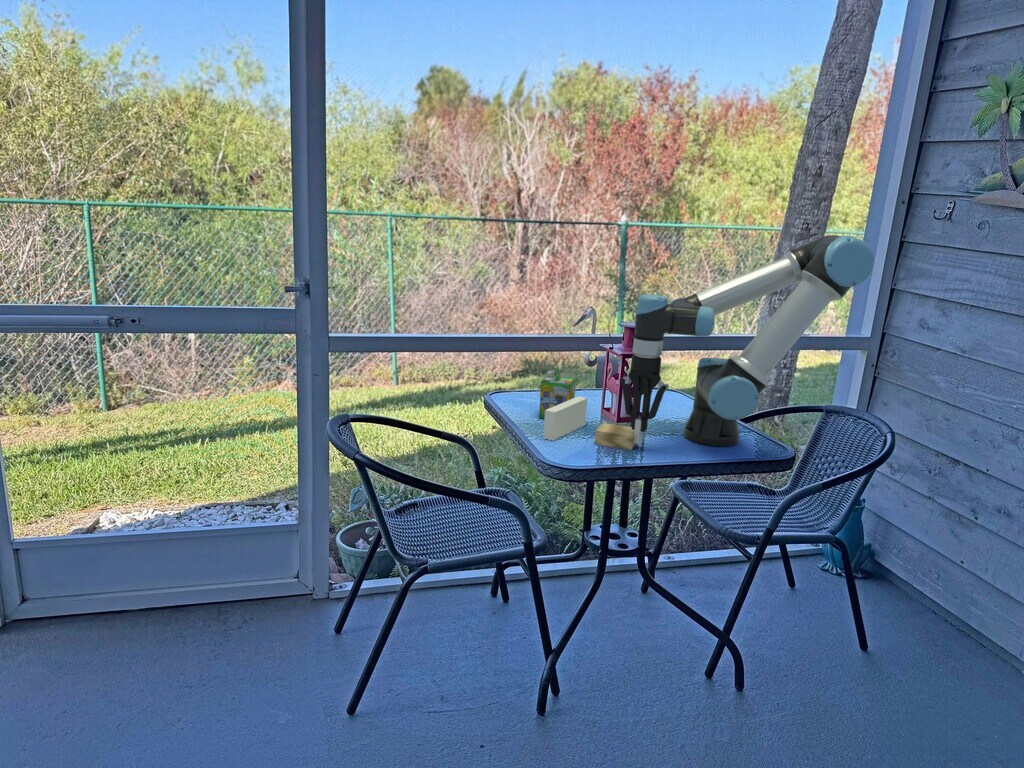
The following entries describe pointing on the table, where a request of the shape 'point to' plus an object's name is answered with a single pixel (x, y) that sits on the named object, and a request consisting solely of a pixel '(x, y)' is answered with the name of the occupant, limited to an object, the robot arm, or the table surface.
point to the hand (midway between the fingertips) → (637, 442)
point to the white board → (565, 418)
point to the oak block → (615, 436)
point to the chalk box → (555, 391)
